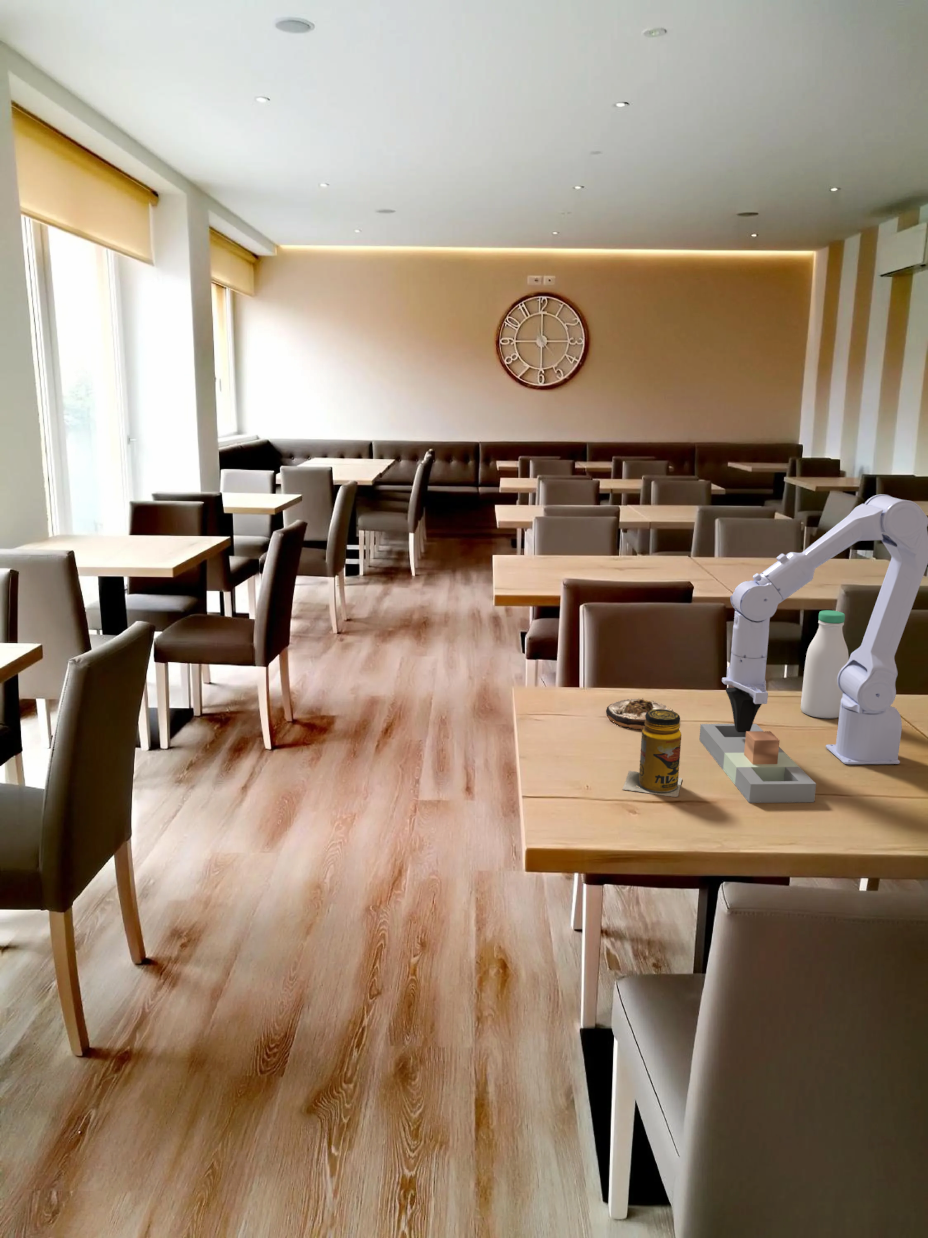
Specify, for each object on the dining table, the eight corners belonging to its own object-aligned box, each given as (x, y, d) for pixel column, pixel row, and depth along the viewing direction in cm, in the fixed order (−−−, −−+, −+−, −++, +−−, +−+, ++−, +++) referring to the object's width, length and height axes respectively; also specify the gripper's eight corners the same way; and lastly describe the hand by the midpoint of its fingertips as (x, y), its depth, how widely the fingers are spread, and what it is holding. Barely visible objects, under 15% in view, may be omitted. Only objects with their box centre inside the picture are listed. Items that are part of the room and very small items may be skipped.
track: (754, 739, 167) (756, 723, 166) (814, 802, 142) (816, 783, 141) (699, 740, 166) (700, 724, 166) (749, 802, 141) (750, 784, 140)
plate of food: (628, 739, 167) (629, 717, 166) (586, 714, 181) (586, 693, 180) (696, 729, 173) (698, 707, 172) (650, 704, 186) (651, 684, 185)
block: (768, 754, 152) (770, 731, 151) (777, 764, 148) (779, 740, 147) (744, 754, 152) (746, 731, 151) (752, 764, 148) (754, 740, 147)
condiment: (677, 798, 143) (683, 723, 140) (622, 790, 145) (626, 717, 142) (682, 779, 150) (687, 708, 147) (628, 772, 152) (632, 702, 149)
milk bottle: (848, 720, 177) (860, 617, 173) (808, 719, 178) (818, 616, 173) (833, 706, 185) (844, 608, 180) (794, 706, 185) (804, 607, 180)
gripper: (712, 642, 162) (706, 716, 166) (739, 666, 148) (733, 747, 152) (752, 642, 163) (745, 716, 166) (783, 666, 149) (775, 746, 152)
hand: (742, 730), depth 159 cm, fingers closed
